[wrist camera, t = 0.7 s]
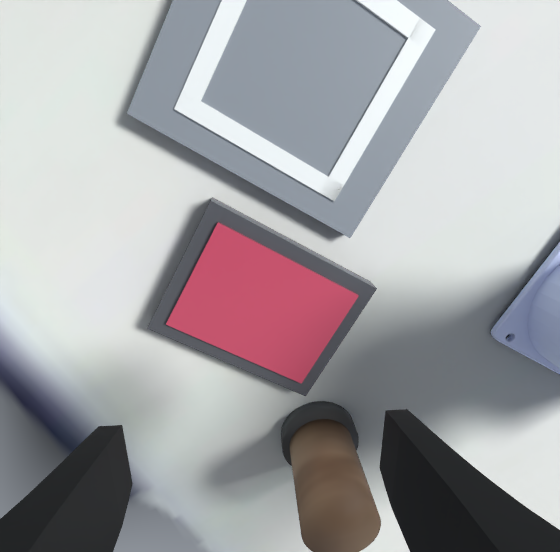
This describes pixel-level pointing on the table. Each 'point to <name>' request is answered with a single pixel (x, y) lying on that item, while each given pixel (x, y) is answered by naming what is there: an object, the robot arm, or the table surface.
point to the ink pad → (259, 300)
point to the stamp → (329, 479)
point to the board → (302, 91)
